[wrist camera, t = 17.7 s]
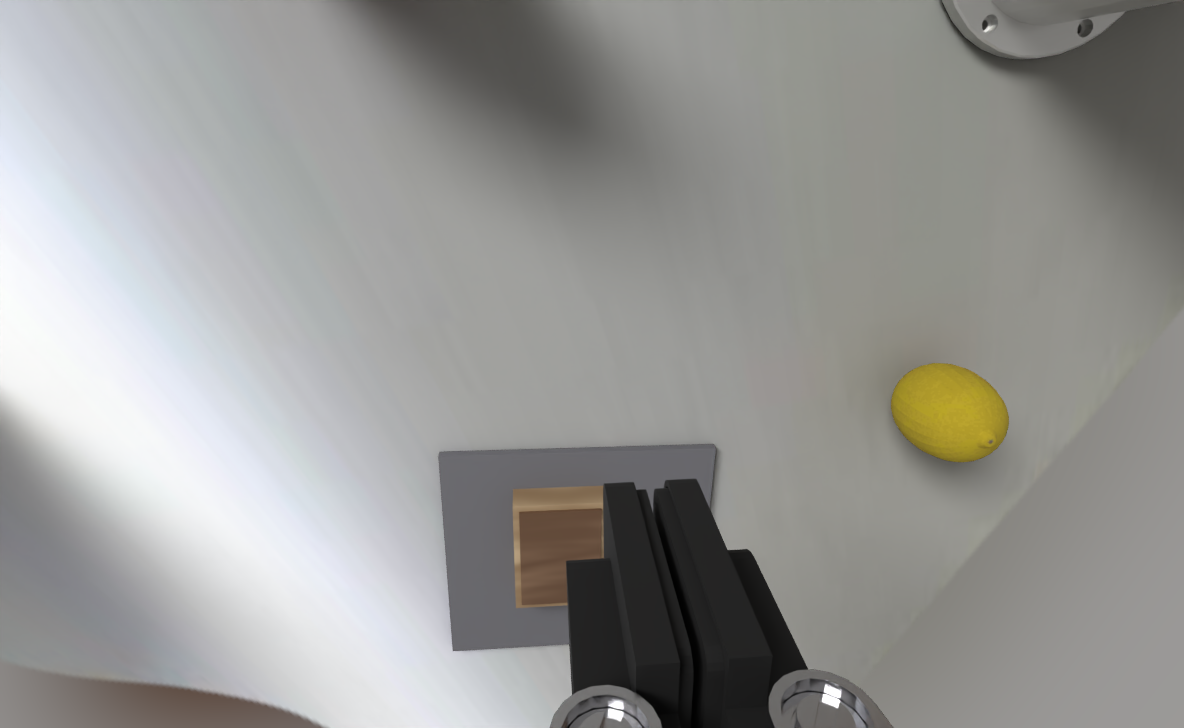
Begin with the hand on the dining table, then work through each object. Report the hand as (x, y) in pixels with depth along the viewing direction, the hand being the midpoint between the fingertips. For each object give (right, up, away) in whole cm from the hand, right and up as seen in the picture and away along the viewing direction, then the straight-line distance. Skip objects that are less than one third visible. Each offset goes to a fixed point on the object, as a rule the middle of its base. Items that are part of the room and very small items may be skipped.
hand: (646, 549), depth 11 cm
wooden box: (-3, -13, +32) cm, 34 cm away
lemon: (+20, +2, +31) cm, 37 cm away
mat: (-2, -10, +32) cm, 34 cm away
